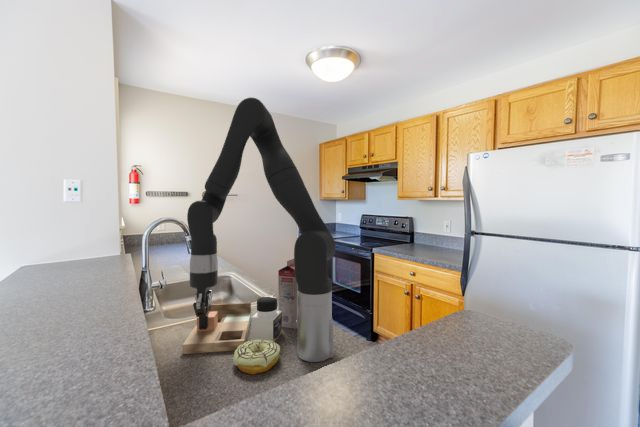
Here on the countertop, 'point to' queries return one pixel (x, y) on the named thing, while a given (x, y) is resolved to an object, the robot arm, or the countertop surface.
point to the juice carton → (288, 295)
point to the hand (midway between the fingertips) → (203, 328)
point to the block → (210, 321)
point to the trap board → (222, 330)
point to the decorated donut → (256, 356)
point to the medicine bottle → (266, 320)
